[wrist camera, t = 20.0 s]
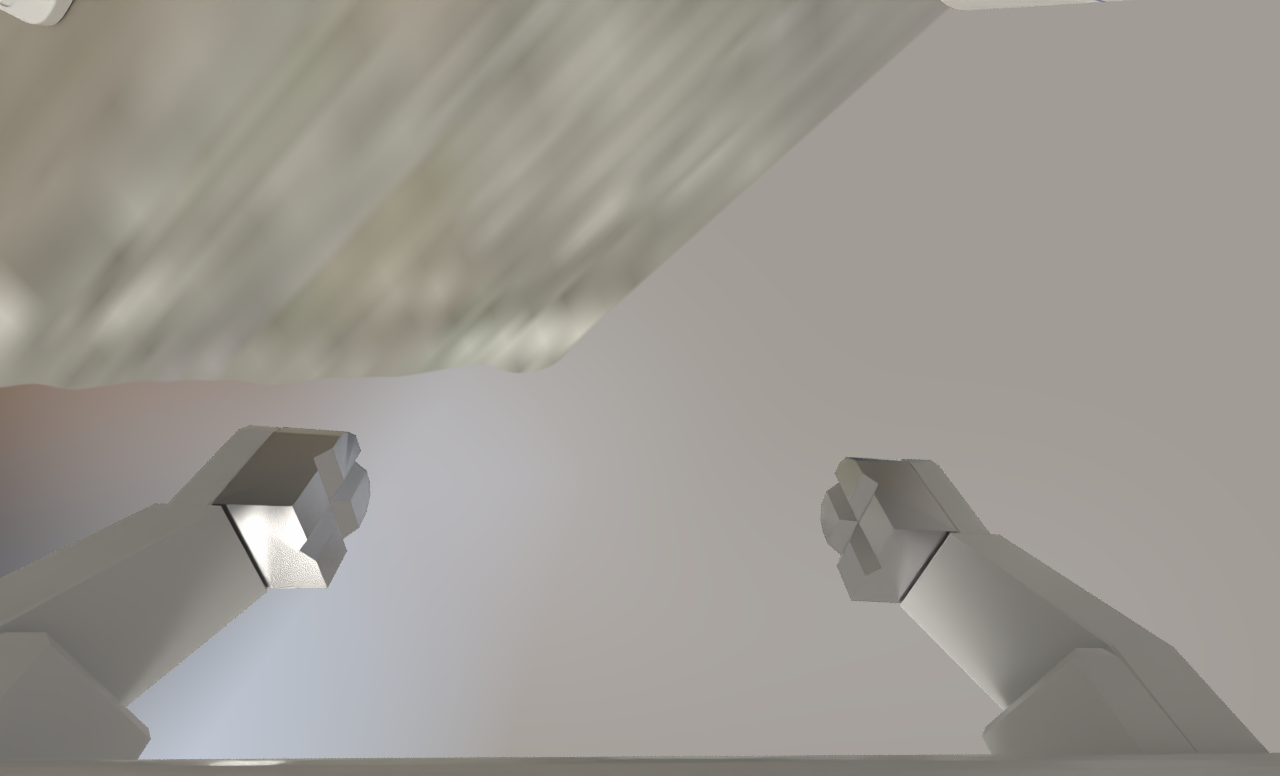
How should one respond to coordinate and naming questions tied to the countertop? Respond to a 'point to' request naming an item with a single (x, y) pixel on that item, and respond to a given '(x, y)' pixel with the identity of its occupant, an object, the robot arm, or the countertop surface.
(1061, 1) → the cylindrical container
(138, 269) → the countertop surface
